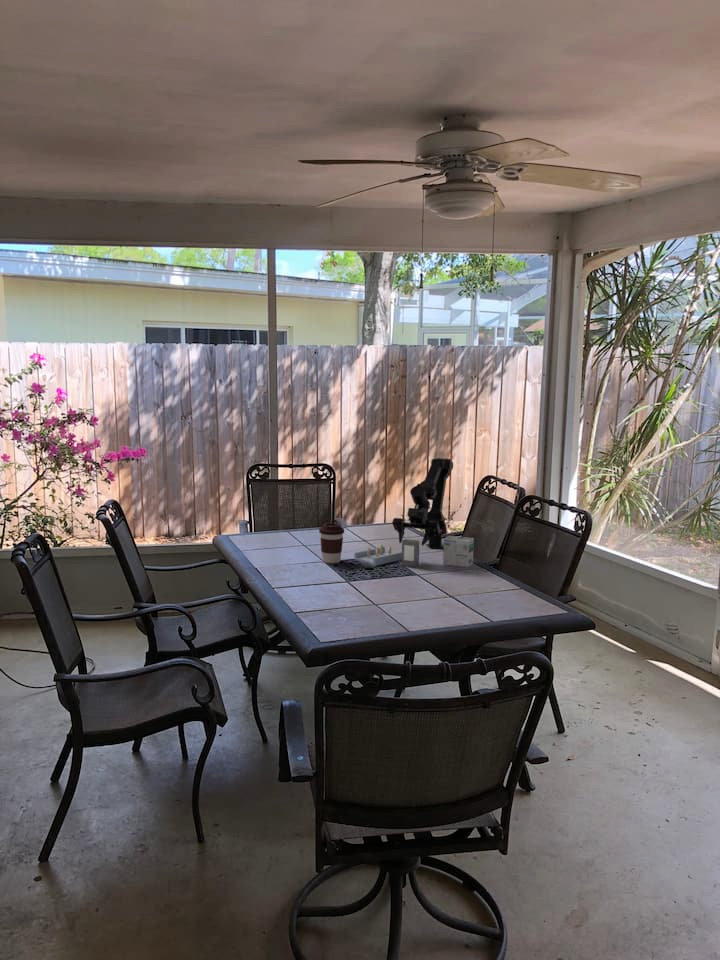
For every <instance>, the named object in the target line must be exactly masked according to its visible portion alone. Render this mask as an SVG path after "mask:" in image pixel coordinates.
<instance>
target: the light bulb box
mask: <svg viewBox="0 0 720 960" xmlns="http://www.w3.org/2000/svg"><path fill="white" fill-rule="evenodd" d="M474 539H475V538H474V537H465V536H456V535H448V536H446V537H444V538H443V546H444V548H443V551H442V552H443V553H442V554H443V555H442V556H443V557H442V558H443V559H442V562H443V563H442V565H444V566H445V565H446V566H452V567H453V566H454V567H460V568H461V567H462V568H470V567H471V566H472V565H473V564H474V543H475V542H474Z"/></svg>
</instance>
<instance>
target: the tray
mask: <svg viewBox="0 0 720 960" xmlns="http://www.w3.org/2000/svg"><path fill="white" fill-rule="evenodd" d="M387 548H388V550H387V551H385V546H383V544H379V546H378V547H375V548H374V547H373V548H371V547H370V546H367V549H364V550H360V551H354V560H355V561H357V562H360V563H365V564H367V565H371V566H375V567H376V566H380V565H384V564H389V563H393V562H398V561H402V551H398V552H394V553H392V546H387Z"/></svg>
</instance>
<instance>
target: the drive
mask: <svg viewBox="0 0 720 960" xmlns="http://www.w3.org/2000/svg"><path fill="white" fill-rule="evenodd" d="M401 552H402V560H401V564H400V565H401V566H402V567H409V568H415V569H416V568H417V567H419V566H420V564H419V563H420V540H416V539H407V538H405V539H404V538H403V539H402V542H401Z"/></svg>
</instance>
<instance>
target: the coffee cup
mask: <svg viewBox="0 0 720 960" xmlns="http://www.w3.org/2000/svg"><path fill="white" fill-rule="evenodd" d="M318 531H319V534H320V539H319V540H320V551H321V560H322V562H323V563H325V564H338V563H340V562H341V561H342V560H341V559H342V557H341V555H342V551H343V543H344V542H343V540H344V538H343V534H344V533H345V528H344V527H342V525H341V524H340V523H336V522H326V523H324V524H323V525H322V526H321V527H319V529H318Z"/></svg>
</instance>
